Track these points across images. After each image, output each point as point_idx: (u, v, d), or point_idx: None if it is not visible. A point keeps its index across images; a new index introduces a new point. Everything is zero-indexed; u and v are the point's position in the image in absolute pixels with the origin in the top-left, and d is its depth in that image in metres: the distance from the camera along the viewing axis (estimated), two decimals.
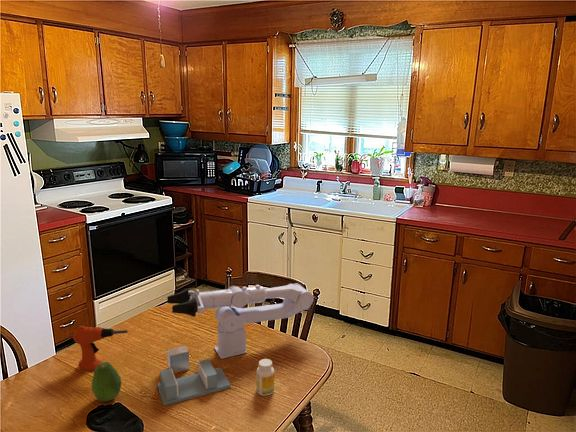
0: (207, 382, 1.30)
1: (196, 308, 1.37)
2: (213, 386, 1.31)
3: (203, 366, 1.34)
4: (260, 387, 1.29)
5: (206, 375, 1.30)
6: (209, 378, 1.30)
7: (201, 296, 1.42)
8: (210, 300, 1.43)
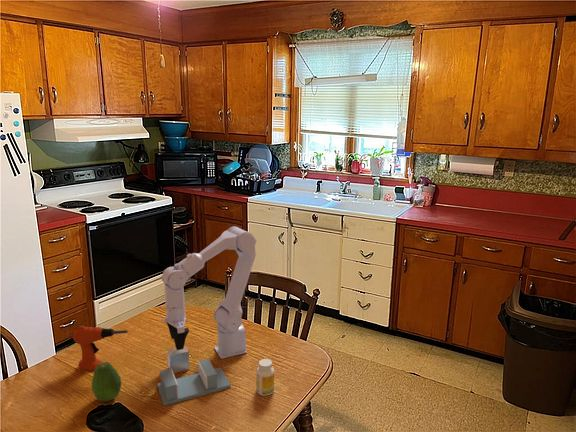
0: (207, 382, 1.30)
1: None
2: (213, 386, 1.31)
3: (203, 366, 1.34)
4: (260, 387, 1.29)
5: (206, 375, 1.30)
6: (209, 378, 1.30)
7: (169, 319, 1.36)
8: (174, 311, 1.35)
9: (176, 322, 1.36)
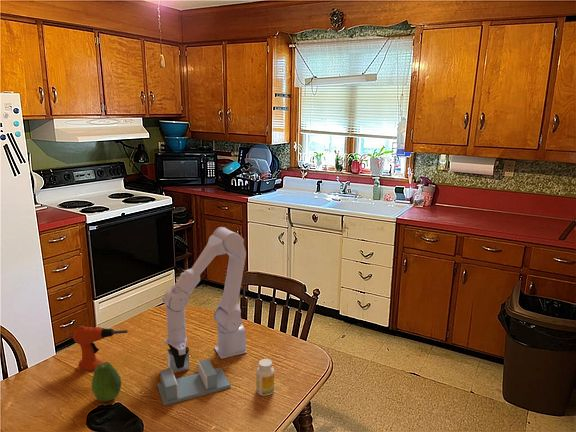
0: (207, 382, 1.30)
1: None
2: (213, 386, 1.31)
3: (203, 366, 1.34)
4: (260, 387, 1.29)
5: (206, 375, 1.30)
6: (209, 378, 1.30)
7: (171, 340, 1.38)
8: (175, 333, 1.37)
9: (177, 343, 1.37)
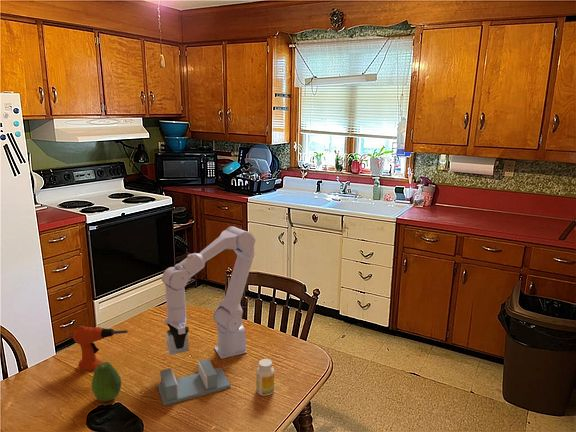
0: (207, 382, 1.30)
1: None
2: (213, 386, 1.31)
3: (203, 366, 1.34)
4: (260, 387, 1.29)
5: (206, 375, 1.30)
6: (209, 378, 1.30)
7: (170, 320, 1.34)
8: (175, 312, 1.34)
9: (177, 323, 1.34)
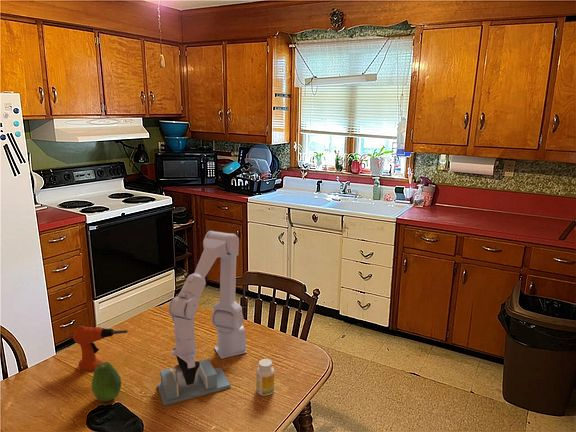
0: (207, 382, 1.30)
1: None
2: (213, 386, 1.31)
3: (203, 366, 1.34)
4: (260, 387, 1.29)
5: (206, 375, 1.30)
6: (209, 378, 1.30)
7: (178, 352, 1.27)
8: (183, 344, 1.26)
9: (186, 355, 1.26)
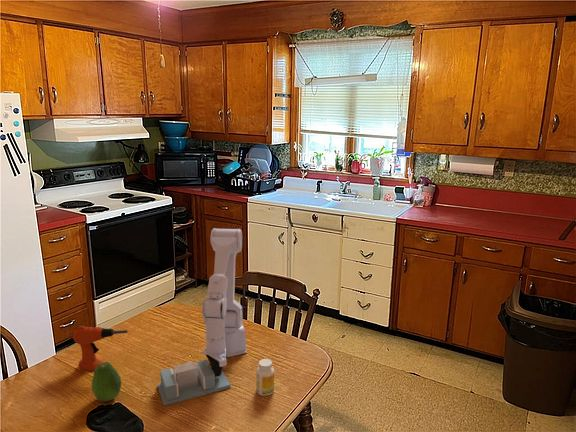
0: (204, 383, 1.29)
1: None
2: (211, 387, 1.31)
3: (201, 367, 1.34)
4: (260, 387, 1.29)
5: (204, 376, 1.30)
6: (207, 379, 1.29)
7: (210, 351, 1.31)
8: (215, 343, 1.30)
9: (217, 354, 1.31)
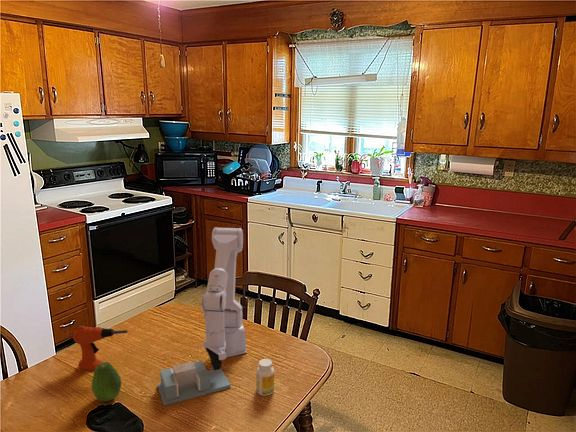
0: (199, 384, 1.29)
1: None
2: (206, 388, 1.30)
3: (196, 368, 1.33)
4: (260, 387, 1.29)
5: (199, 377, 1.29)
6: (202, 380, 1.29)
7: (209, 344, 1.31)
8: (214, 336, 1.30)
9: (217, 348, 1.30)
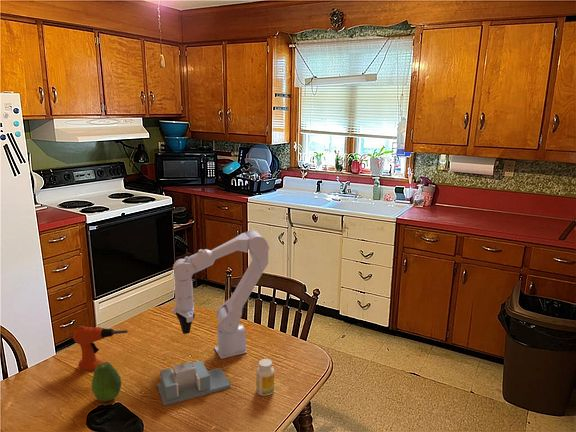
0: (199, 384, 1.29)
1: None
2: (206, 388, 1.30)
3: (196, 368, 1.33)
4: (260, 387, 1.29)
5: (199, 377, 1.29)
6: (202, 380, 1.29)
7: (179, 309, 1.42)
8: (183, 301, 1.41)
9: (185, 312, 1.42)
